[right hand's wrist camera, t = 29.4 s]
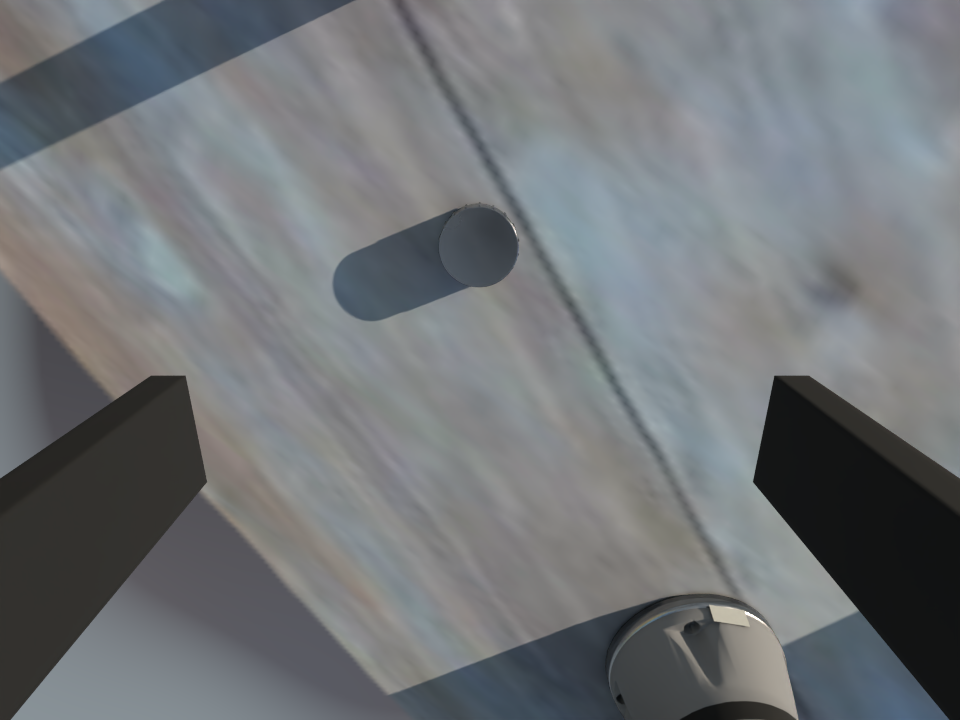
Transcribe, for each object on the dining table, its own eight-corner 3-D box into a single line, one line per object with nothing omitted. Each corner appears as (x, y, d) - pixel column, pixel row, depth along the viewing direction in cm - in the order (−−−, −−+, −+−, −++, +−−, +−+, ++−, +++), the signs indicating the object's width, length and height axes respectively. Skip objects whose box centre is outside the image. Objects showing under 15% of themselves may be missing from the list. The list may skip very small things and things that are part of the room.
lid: (455, 290, 38) (454, 298, 36) (429, 217, 37) (426, 221, 34) (526, 266, 38) (529, 274, 36) (503, 191, 36) (505, 193, 34)
